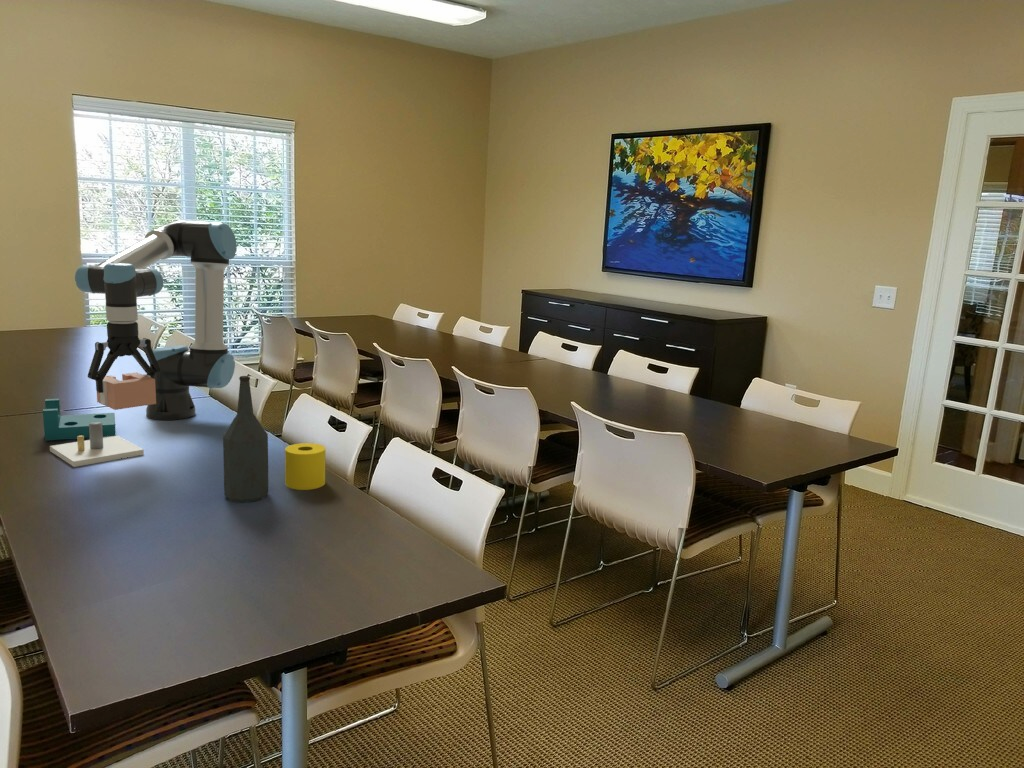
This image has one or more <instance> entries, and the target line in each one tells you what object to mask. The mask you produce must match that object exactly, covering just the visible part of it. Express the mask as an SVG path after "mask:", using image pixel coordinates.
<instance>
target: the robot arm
mask: <svg viewBox="0 0 1024 768" xmlns="http://www.w3.org/2000/svg"><path fill="white" fill-rule="evenodd" d="M237 248H238V246H237V239H236V235H235V232H234V231H233V229H232V228H231V226H230V225H229V224H227V223H225V222H220V221H219V222H218V221H213V220H211V221H207V220H206V221H205V220H188V219H179V220H174V221H171V222H167V223H165V224H162V225H160V226H158V227H155V228H153V229H152V230H150V231H148V232H147V233H146V234H145V237H144V238H143V239H141V240H140V241H137V242H136V243H133V244H132V245H131V246H128V247H127V248H125V249H123V250H121V251H120V252H118V253H116V254H114V255H113V256H111V257H109V258H107V259H105V260H104V261H101V262H100V263H98V264H96V265H91V264H89V265H80V266H79V267H78V268H77V269H76V271H75V274H74V281H75V285H76V287H77V288H78V289H79V290H80V291H81V292H83V293H92V294H102V295H103V294H104V297H105V315H106V321H108V322H107V323H106V336H107V340H106V341H105V342H99V341H95V343H94V354H93V357H92V360H91V364H90V367H89V370H88V374H87V378H88V379H91V380H94V381H95V390H96V393H97V392H99V393H100V401H101V403H100V404H101V405H103V404H104V405H103V406H105V405H108V398H107V381H105V380H103V379H104V378H105V376H107V375H108V373H109V371H110V370H111V368H112V366H113V364H114V362H115V360H117V359H118V358H119V357H124V356H129V357H131V356H132V357H133V358H134V360H135V361H136V362H137V363H138V365H139V366H140V367H141V368H142V370H143V371H144V372H145V374H143V375H145V376H148V377H151V378H154V379H155V388H156V404H152V405H146V409H145V412H146V413H145V414H146V417H147V418H148V419H152V420H158V421H159V420H161V421H171V420H172V421H173V420H175V421H176V420H182V419H188V418H191V417H194V416H195V415H196V405H195V403H194V400H193V398H192V395H191V392H190V387H195V388H196V387H197V388H208V389H223V388H226V387H227V386H228V385H229V384H230V382H231V380H232V378H233V376H234V374H235V368H236V360H235V358H234V356H233V354H230V353H229V351H228V350H229V349H228V348H229V347H228V346H227V344H225V343H224V303H225V302H224V297H225V296H224V294H225V292H224V290H225V289H224V288H225V287H224V286H225V269H226V268H227V267H229V265H230V260H233V259H234V258H235V256H236V253H237ZM171 257H190V263H191V264H192V266H193V267H194V268H195V290H194V291H195V292H194V293H195V296H194V297H195V300H194V301H195V305H194V307H195V308H194V310H195V311H194V314H195V315H194V327H195V328H194V342H193V343H192V344H191V345H190V347H188V346H187V345H183V344H181V345H169V346H163V347H158V348H154V349H152V348H153V347H152V341H151V339H149V338H145V337H143V338H141V339H140V338H139V323H138V322H137V321H138V319H139V317H138V316H139V315H138V300H137V299H138V298H139V297H140V298H141V297H152V296H154V295H157V294H159V293H160V292H161V291H162V290H163V288H164V278H163V276H162V274H161V273H160V272H159V271H158V270H157V269H155V268H149V267H150V266H152V265H153V264H155V263H156V262H159V260H162V261H163V260H167V259H169V258H171ZM140 346H141V347H142V349H143V351H144V353H145V356H146V359H147V361H148V363H149V364H148V363H147V361H146V359H144V358H143V356H142V354H141V352H140V351H139V350H138V348H139V347H140ZM107 348H108V349H109V351H108V352H107V354H106V358H105V359H104V361H103V363H102V360H103V357H104V353H105V351H106V350H107ZM101 364H102V365H101Z"/></svg>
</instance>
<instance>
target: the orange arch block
mask: <svg viewBox="0 0 1024 768" xmlns="http://www.w3.org/2000/svg"><path fill="white" fill-rule="evenodd" d="M121 376H122V377H121V378H122V379H121V380H118V379H117V378H116V376H115V375H106V376H105V378H104V379H103V380H105V381H107V398H108V405H104V404H102V405H103V406H105V407H107V408H109V409H112V410H114V411H117V410H123V409H131V408H137V407H144V406H147V405H152V404H156V388H155V379H154V378H151V377H148V376H145V375H143V374H142V373H139V372H128V373H122V375H121ZM96 402H97V403H99V404H101V401H100V393H99V392H97V391H96Z"/></svg>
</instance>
